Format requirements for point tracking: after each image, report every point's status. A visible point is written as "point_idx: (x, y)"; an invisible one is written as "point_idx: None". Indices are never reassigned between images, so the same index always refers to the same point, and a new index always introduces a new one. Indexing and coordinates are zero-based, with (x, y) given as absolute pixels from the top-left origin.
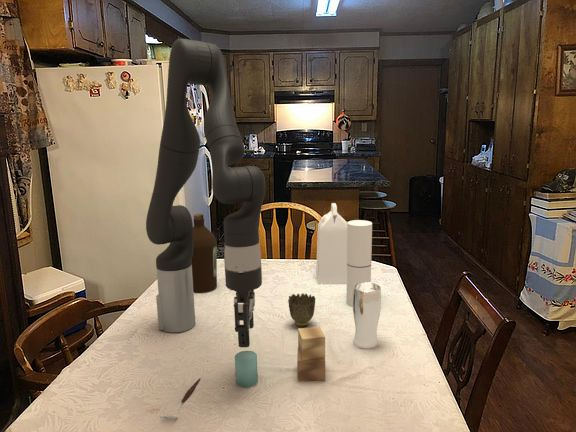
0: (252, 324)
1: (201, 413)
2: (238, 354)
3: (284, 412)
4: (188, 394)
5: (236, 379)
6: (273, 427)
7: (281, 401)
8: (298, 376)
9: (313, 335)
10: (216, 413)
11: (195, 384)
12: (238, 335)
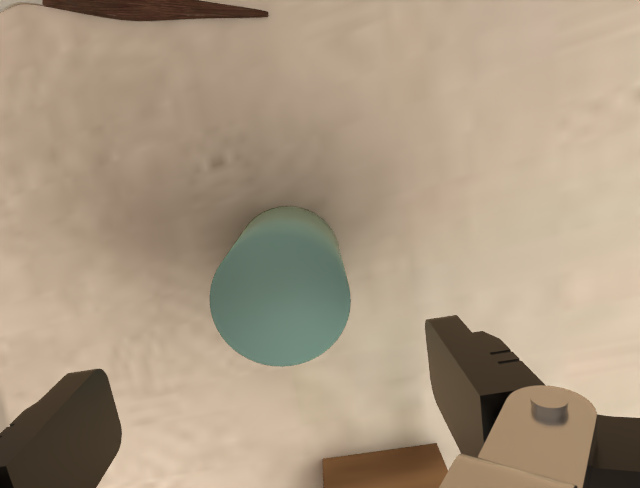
0: (442, 409)
1: (5, 126)
2: (291, 252)
3: None
4: (107, 8)
5: (250, 223)
6: None
7: (172, 425)
8: (324, 477)
9: None
10: (25, 193)
11: (201, 11)
12: (9, 435)
